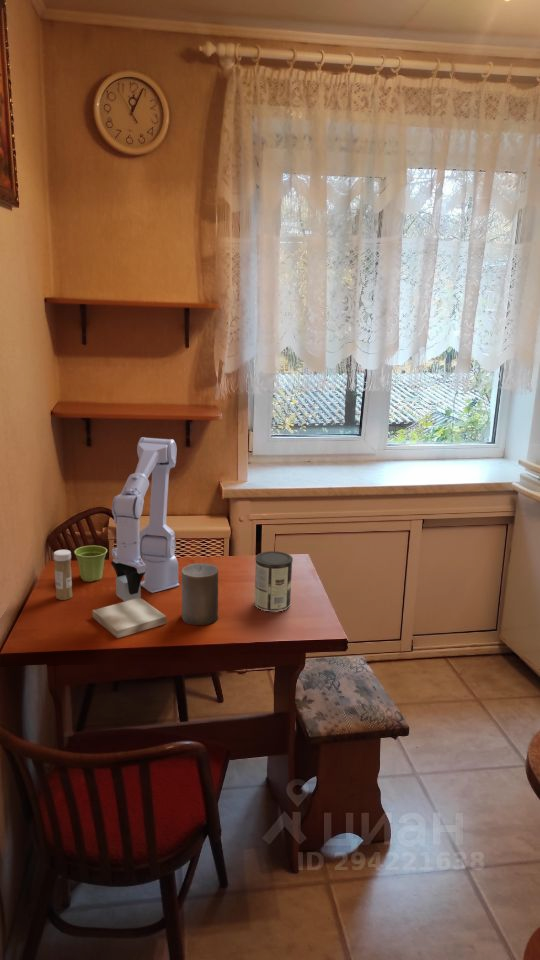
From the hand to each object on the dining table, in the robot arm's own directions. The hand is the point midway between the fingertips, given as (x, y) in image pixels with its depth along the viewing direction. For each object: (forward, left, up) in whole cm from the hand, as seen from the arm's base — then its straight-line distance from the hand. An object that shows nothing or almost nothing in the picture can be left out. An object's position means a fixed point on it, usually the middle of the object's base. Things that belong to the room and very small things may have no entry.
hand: (128, 589), depth 176 cm
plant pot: (-4, -31, -9) cm, 32 cm away
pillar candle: (-16, +9, -9) cm, 20 cm away
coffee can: (-37, +14, -9) cm, 41 cm away
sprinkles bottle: (+8, -23, -9) cm, 26 cm away
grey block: (0, 0, -2) cm, 2 cm away
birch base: (0, 0, -9) cm, 9 cm away
